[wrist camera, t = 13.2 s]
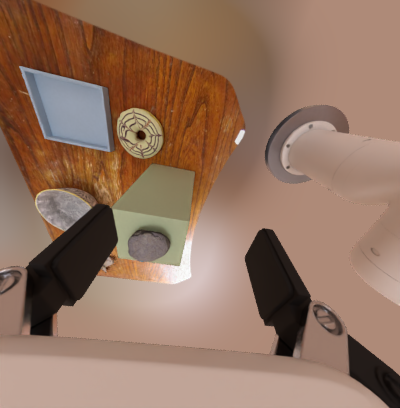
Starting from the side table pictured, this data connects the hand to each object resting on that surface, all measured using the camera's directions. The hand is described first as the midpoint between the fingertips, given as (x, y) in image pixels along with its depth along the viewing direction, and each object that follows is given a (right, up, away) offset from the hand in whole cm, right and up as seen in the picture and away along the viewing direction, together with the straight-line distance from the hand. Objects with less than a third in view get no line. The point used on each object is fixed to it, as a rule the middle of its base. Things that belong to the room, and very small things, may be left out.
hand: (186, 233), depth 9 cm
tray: (-28, +23, +24) cm, 44 cm away
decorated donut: (-13, +19, +27) cm, 36 cm away
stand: (-8, +7, +34) cm, 36 cm away
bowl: (-36, +3, +38) cm, 52 cm away
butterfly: (-41, -24, +56) cm, 73 cm away
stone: (-8, -5, +16) cm, 18 cm away
